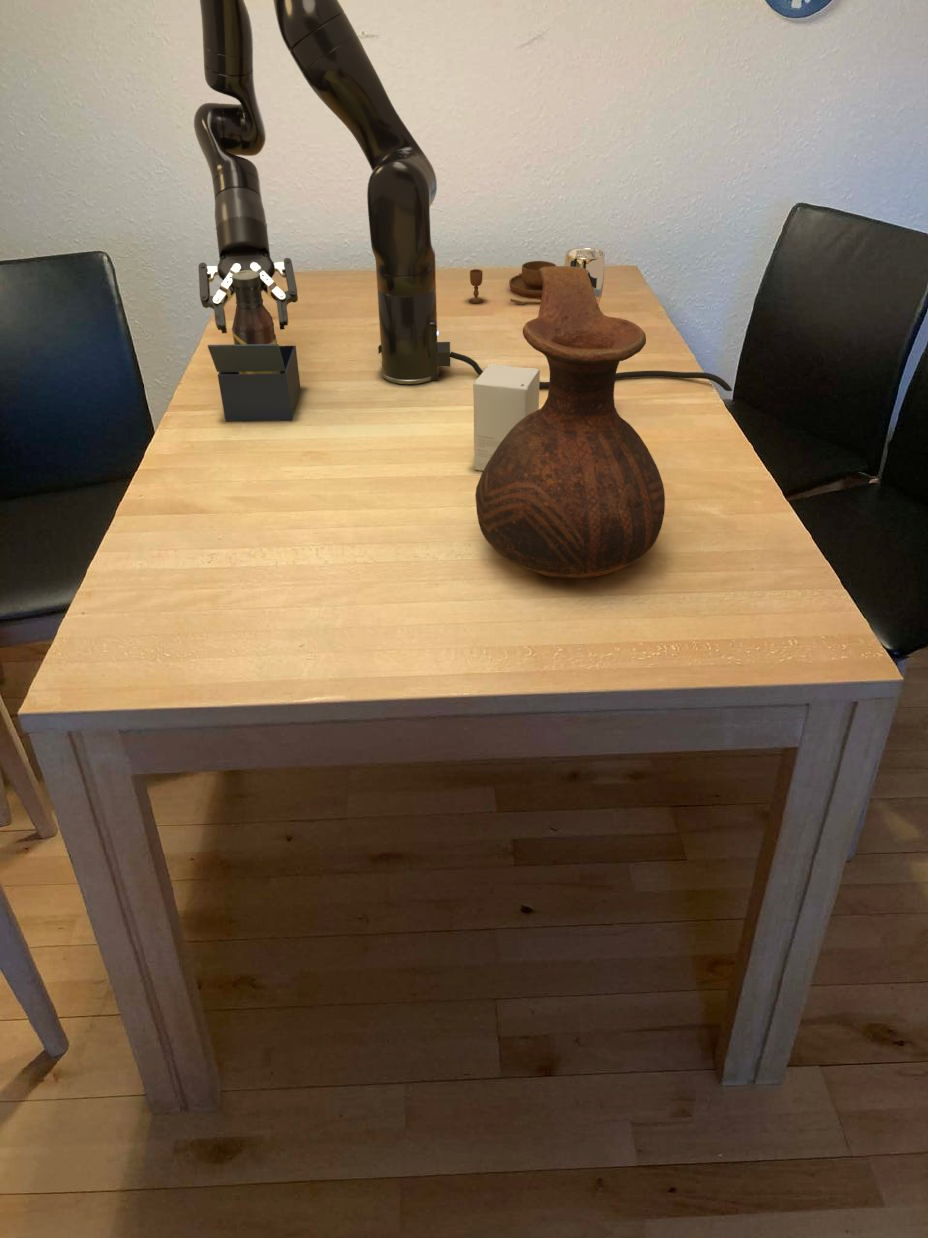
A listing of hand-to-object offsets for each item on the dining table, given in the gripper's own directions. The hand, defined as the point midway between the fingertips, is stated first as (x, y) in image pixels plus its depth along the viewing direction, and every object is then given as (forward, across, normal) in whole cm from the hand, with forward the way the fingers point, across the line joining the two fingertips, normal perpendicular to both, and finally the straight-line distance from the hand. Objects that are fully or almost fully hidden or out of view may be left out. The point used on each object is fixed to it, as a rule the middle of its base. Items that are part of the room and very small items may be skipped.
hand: (253, 329), depth 139 cm
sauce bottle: (+9, 0, +8) cm, 12 cm away
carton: (+9, 0, +8) cm, 12 cm away
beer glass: (-3, +56, +20) cm, 60 cm away
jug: (+44, +34, -28) cm, 63 cm away
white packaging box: (+28, +32, -11) cm, 44 cm away
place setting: (-24, +52, +40) cm, 70 cm away
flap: (+6, -1, -5) cm, 8 cm away
